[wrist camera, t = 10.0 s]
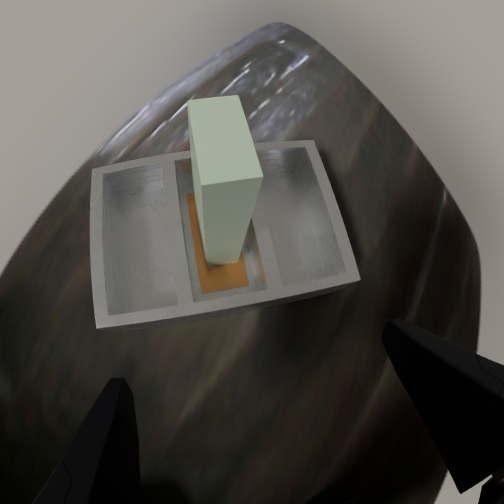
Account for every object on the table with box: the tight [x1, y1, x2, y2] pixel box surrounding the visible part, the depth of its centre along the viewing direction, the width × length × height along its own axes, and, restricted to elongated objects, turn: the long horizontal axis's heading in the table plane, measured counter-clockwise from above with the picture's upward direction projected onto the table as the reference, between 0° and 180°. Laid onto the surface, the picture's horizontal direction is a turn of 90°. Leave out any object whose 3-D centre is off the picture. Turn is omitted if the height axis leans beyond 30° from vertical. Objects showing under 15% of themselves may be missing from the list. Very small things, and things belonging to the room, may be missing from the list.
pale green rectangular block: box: [187, 95, 263, 268], centre depth 14 cm, size 4×2×10 cm, turn 14°
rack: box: [90, 140, 361, 332], centre depth 18 cm, size 10×15×4 cm
